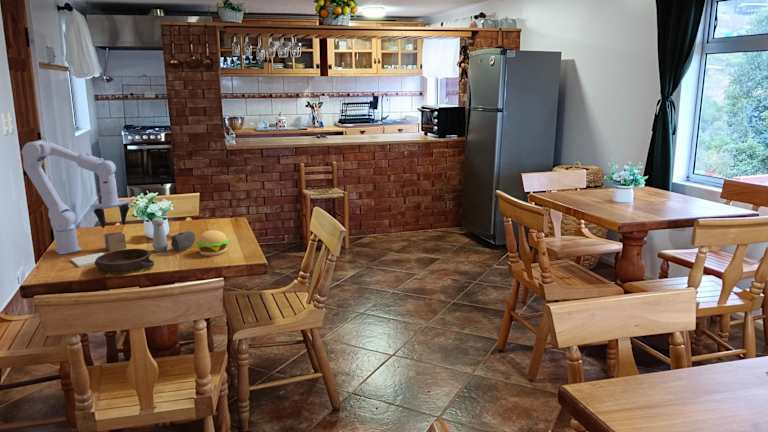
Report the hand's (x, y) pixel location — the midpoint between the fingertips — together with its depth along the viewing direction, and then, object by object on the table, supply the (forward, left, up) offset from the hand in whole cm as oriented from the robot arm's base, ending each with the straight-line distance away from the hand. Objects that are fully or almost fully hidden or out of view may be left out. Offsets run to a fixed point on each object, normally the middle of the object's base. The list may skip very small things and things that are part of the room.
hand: (113, 225), depth 229 cm
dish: (+29, -5, -10) cm, 31 cm away
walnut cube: (0, 0, -10) cm, 10 cm away
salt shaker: (+16, +12, -10) cm, 22 cm away
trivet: (+10, -12, -9) cm, 18 cm away
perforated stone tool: (+20, +20, -10) cm, 30 cm away
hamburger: (+33, +26, -10) cm, 43 cm away
